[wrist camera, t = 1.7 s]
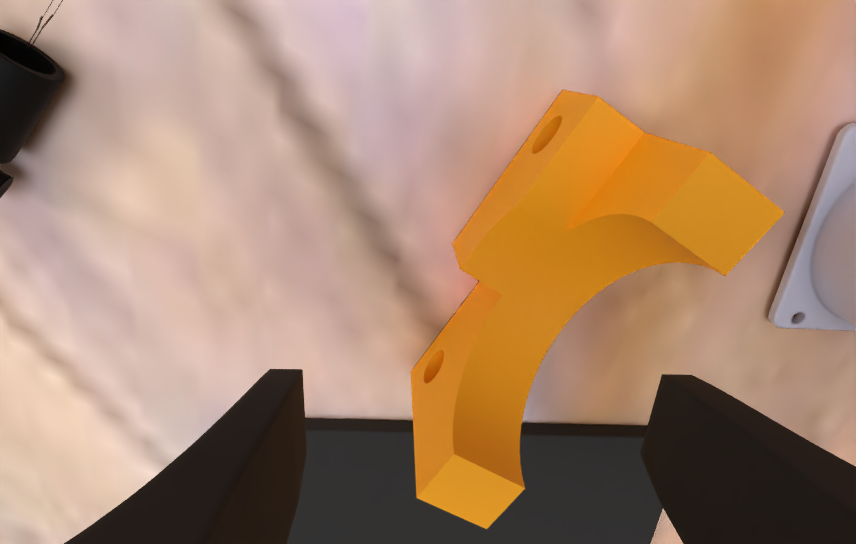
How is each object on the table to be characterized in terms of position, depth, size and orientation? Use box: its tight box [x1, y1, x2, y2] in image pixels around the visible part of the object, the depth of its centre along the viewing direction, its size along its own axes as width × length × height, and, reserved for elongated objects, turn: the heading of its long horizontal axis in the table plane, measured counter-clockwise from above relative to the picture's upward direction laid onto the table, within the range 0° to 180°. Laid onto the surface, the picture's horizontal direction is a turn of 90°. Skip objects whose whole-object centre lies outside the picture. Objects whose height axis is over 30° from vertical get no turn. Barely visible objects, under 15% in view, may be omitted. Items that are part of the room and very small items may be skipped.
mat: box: [287, 419, 663, 544], centre depth 24 cm, size 20×14×1 cm
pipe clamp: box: [411, 90, 785, 529], centre depth 16 cm, size 12×4×6 cm, turn 146°
